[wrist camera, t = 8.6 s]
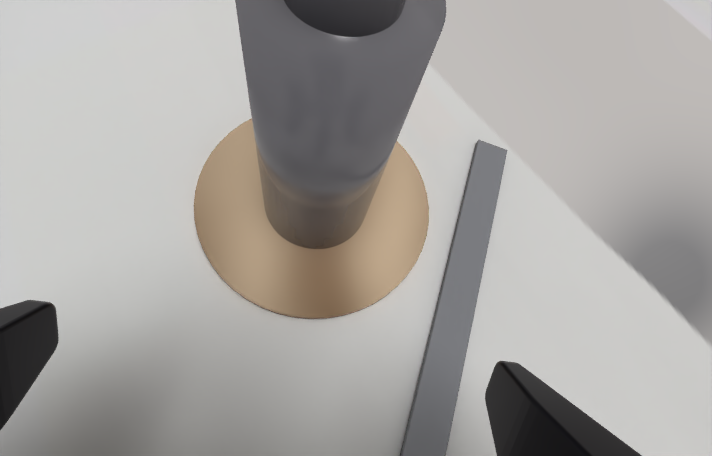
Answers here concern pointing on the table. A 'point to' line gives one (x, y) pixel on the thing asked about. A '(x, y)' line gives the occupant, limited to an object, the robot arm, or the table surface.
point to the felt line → (455, 308)
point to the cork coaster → (297, 264)
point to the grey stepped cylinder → (330, 103)
